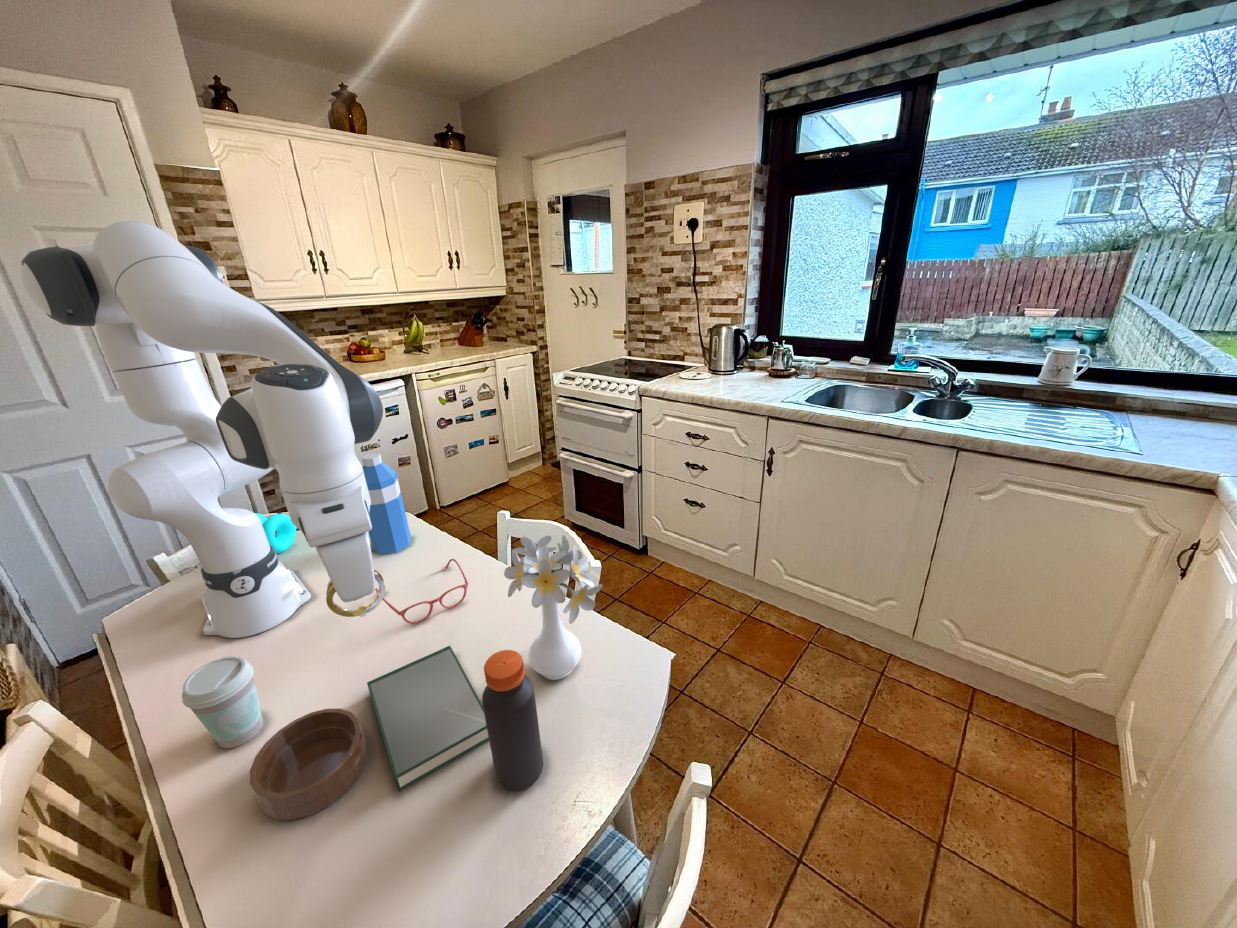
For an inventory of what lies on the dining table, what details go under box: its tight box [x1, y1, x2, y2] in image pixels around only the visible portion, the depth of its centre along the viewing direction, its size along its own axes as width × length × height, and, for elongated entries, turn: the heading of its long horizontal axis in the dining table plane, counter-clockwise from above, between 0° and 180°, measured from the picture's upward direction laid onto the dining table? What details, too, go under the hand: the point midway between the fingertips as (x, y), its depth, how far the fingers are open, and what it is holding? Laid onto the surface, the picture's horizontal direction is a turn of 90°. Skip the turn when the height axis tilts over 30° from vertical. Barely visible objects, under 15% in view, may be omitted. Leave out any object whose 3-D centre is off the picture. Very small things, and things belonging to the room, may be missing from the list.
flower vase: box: [503, 535, 603, 681], centre depth 82 cm, size 13×18×25 cm
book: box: [366, 645, 489, 792], centre depth 78 cm, size 20×14×3 cm
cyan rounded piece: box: [254, 512, 297, 554], centre depth 124 cm, size 10×10×10 cm
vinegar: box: [481, 649, 544, 792], centre depth 66 cm, size 7×7×20 cm
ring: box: [325, 569, 386, 618], centre depth 65 cm, size 7×3×8 cm, turn 118°
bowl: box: [249, 708, 368, 821], centre depth 69 cm, size 13×13×5 cm
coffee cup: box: [181, 655, 264, 749], centre depth 74 cm, size 8×8×12 cm
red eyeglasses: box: [375, 558, 469, 625], centre depth 105 cm, size 17×16×5 cm
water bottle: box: [361, 452, 412, 555], centre depth 122 cm, size 9×9×25 cm
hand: (355, 590), depth 65 cm, fingers closed on ring, 2 cm apart
